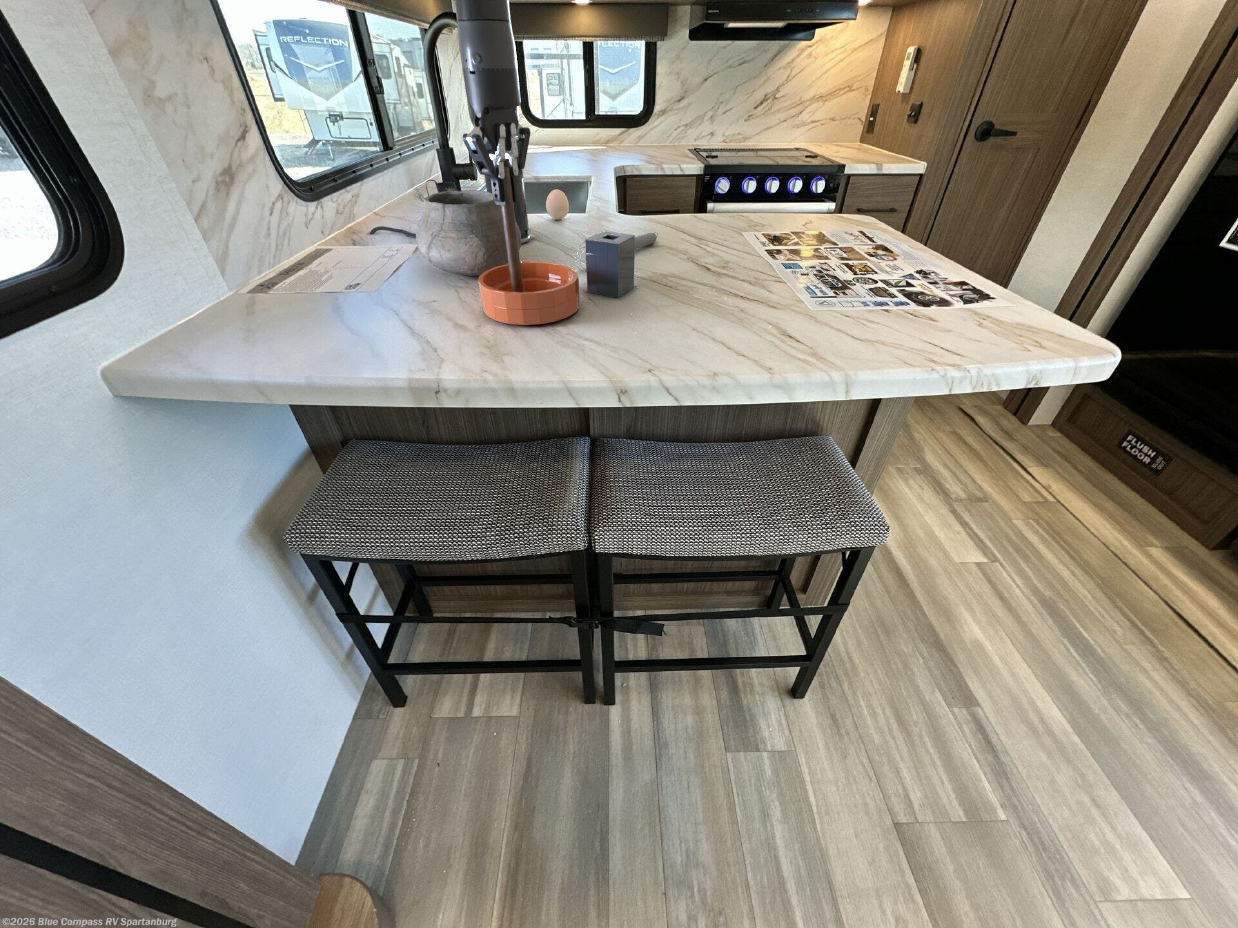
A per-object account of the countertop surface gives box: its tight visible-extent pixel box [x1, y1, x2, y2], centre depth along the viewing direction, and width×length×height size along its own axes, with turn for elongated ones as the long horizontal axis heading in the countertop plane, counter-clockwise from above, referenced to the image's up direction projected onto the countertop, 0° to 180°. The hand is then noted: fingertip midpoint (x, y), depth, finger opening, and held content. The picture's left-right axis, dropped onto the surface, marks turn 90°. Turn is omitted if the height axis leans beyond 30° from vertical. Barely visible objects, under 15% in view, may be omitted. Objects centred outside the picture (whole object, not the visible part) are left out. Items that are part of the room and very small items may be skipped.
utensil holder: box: [584, 230, 636, 299], centre depth 99 cm, size 7×7×10 cm
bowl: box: [477, 260, 581, 326], centre depth 92 cm, size 18×18×6 cm
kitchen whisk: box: [572, 231, 659, 273], centre depth 117 cm, size 6×34×6 cm, turn 147°
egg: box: [545, 189, 570, 221], centre depth 146 cm, size 7×7×8 cm
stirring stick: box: [501, 167, 524, 292], centre depth 84 cm, size 2×2×20 cm
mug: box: [425, 179, 458, 197], centre depth 137 cm, size 8×6×12 cm
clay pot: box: [415, 189, 522, 277], centre depth 106 cm, size 22×21×15 cm
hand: (506, 203), depth 80 cm, fingers closed on stirring stick, 2 cm apart
